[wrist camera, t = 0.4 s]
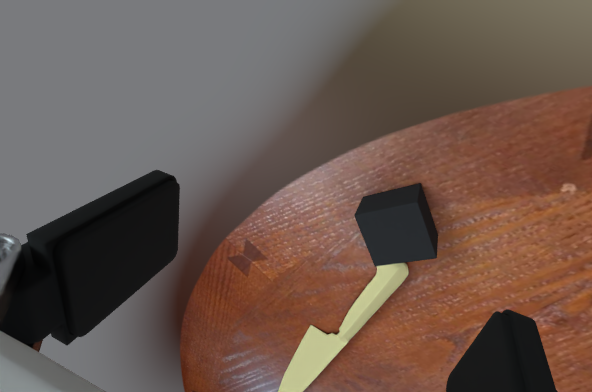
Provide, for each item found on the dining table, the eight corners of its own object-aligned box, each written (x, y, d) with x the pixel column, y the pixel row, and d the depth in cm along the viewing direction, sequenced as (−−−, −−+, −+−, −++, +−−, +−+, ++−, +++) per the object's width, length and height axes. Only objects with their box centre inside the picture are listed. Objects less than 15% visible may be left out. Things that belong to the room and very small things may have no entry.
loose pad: (363, 196, 30) (354, 215, 28) (420, 182, 28) (417, 201, 25) (381, 244, 32) (374, 266, 29) (438, 234, 29) (436, 258, 27)
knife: (258, 399, 50) (283, 422, 49) (368, 242, 31) (412, 272, 30) (263, 392, 51) (288, 414, 50) (372, 235, 32) (415, 265, 31)
